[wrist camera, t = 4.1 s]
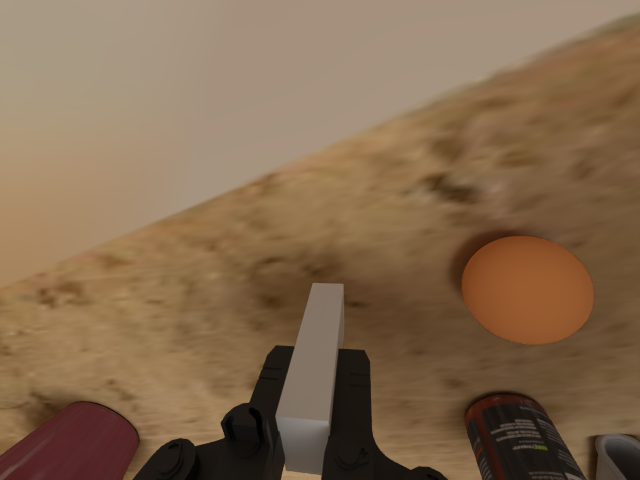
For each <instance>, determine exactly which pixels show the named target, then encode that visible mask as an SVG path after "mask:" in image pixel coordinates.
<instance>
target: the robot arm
mask: <svg viewBox="0 0 640 480" xmlns="http://www.w3.org/2000/svg"><path fill="white" fill-rule="evenodd" d="M344 332H345V315H344V284H335V283H313V284H312V288H311V291H310V295H309V298H308V302H307V305H306V309H305V313H304V316H303V320H302V323H301V327H300V330H299V334H298V337H297V341H296V345H295V347H293V346H277V345H276V346H275V347H274V348H273V349H272V351H271V352H270V353H269V354H268V355H267V357H266V360H265V363H264V365H263V369H262V371H261V373H260V376H259V379H258V381H257V384H256V386H255V389H254V391H253V394H252V397H251V399H250V402H249V403H243V404H240V405H238V406H236V407H234V408H233V409H232V410H230V411H229V412H228V413H227V414H226V415H225V417H224V418H223V420H222V421H221V426H222V429H223V432H224V435H225V438H223V439H220V440H218V441H214V442H210V443H206V444H202V445H198V446H194V444H193V443H192V442H191V441H189V440H188V439H182V438H179V439H175V440H171V441H170V442H168V443H166V444H165V445H163V446H161V447H160V448H159V449H158V450H157V451H156V452H155V453H154V454H153V455H152V456H151V458H150V459H149V460H148V461H147V463H146V464H145V465H144V466H143V467H142V469H141V470H140V471H139V472H138V474H137V475H136V476H135V477H134V478H133V480H281V476H282V472H283V467H284V463H285V467H286V470H287V471H294V472H302V473H310V474H317V475H322V478H321V480H448V479H447V478H446V477H444V476H443V475H442V474H441V473H440V472H438V471H436V470H434V469H432V468H430V467H421V466H419V467H416V468H414V469H412V470H410V469H408V468H406V467H404V466H402V465H400V464H398V463H396V462H394V461H392V460H391V459H389V458H388V457H386V456H385V455H384V454H383V453H382V452H381V451H380V449H379V448H378V446H377V445H376V443H375V440H374V438H373V433H372V416H371V380H370V361H369V359H368V357H367V355H366V353H365V351H364V350H353V349H343V344H344Z"/></svg>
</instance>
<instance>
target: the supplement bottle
mask: <svg viewBox="0 0 640 480" xmlns="http://www.w3.org/2000/svg"><path fill="white" fill-rule="evenodd" d="M465 425H466V428H467V432H468V437H469V439H470V442H471V445H472V449H473V451H474V454H475V457H476V461H477V464H478V467H479V470H480V473H481V476H482V479H483V480H586V478H585V476H584V475H583V473H582V471H581V470H580V468H579V466H578V465H577V463H576V461H575V460H574V458H573V457H572V455H571V453H570V451H569V450H568V448H567V446H566V445H565V443H564V441H563V440H562V438H561V436H560V435H559V433H558V432H557V430H556V428H555V426H554V425H553V423H552V421H551V420H550V418H549V417H548V415H547V414H546V412H545V411H544V410H543V408H542V407H541V406H540V405H538V404H537V403H536V402H534V401H532V400H530V399H529V398H526V397H522V396H517V395H510V394H508V395H506V394H505V395H494V396H491V397H487V398H484V399H482V400H480V401H478V402H477V403H475V404H474V405H472V407H470V409H469V410H468V412H467V414H466V417H465Z"/></svg>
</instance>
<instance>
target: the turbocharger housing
mask: <svg viewBox="0 0 640 480" xmlns="http://www.w3.org/2000/svg"><path fill="white" fill-rule="evenodd" d="M595 447H596V450H597V452H598V462H597V472H596V480H640V441H638V440H637V439H635V438H633V437H631V436H628V435H626V434H609V435H599V436H597V438H596V440H595Z"/></svg>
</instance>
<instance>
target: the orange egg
mask: <svg viewBox="0 0 640 480" xmlns="http://www.w3.org/2000/svg"><path fill="white" fill-rule="evenodd" d="M462 293H463V297H464V300H465V303H466V305H467V308H468V309H469V311H470V312H471V314H472V315H473V317H474V318H475V319H476V320H477V321H478V322H479V323H480V324H481V325H482V326H483V327H485V328H486V329H487V330H488V331H490V332H492V333H493V334H495V335H497V336H499V337H501V338H503V339H506V340H509V341H512V342H516V343H520V344H529V345H541V344H548V343H553V342H557V341H560V340H562V339H565V338H567V337H569V336H570V335H572V334H573V333H575V332H576V331H577V330H579V329H580V328H581V327H582V326H583V325H584V324H585V322H586V321H587V319H588V317H589V316H590V314H591V311H592V308H593V304H594V288H593V283H592V280H591V278H590V276H589V273H588V271H587V270H586V268H585V267H584V265H583V264H582V263H581V262H580V260H579V259H578V258H576V257H575V256H574V255H573V254H572V253H571V252H570V251H568V250H567V249H565V248H563V247H562V246H560V245H558V244H556V243H554V242H551V241H548V240H545V239H542V238H537V237H531V236H511V237H505V238H501V239H498V240H495V241H493V242H491V243H489V244H487V245H485V246H483V247H482V248H481V249H479V250H478V251H477V252H476V253H475V254H474V255H473V256H472V257H471V258H470V260H469V261H468V263H467V265H466V267H465V270H464V272H463V276H462Z"/></svg>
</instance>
